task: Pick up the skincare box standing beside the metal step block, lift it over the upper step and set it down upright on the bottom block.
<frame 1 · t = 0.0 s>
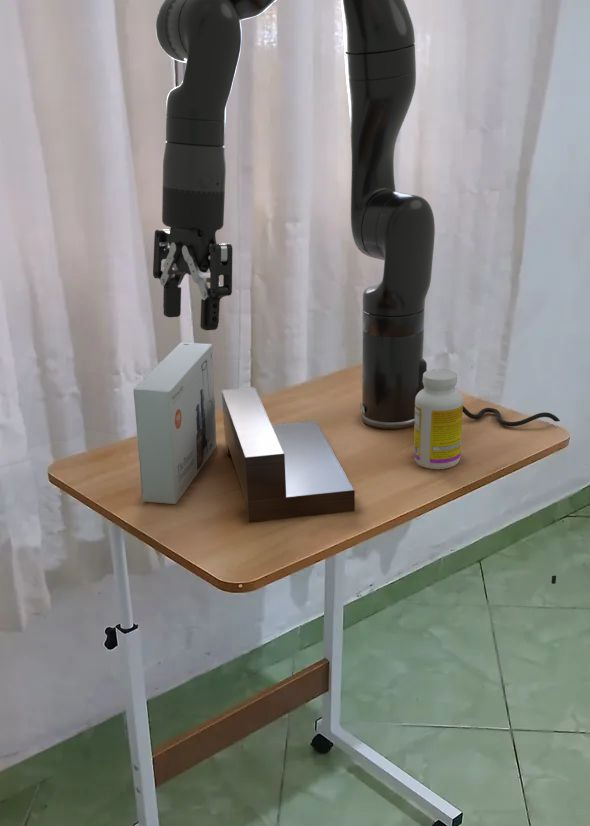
hand: (190, 322, 131), 22 cm above the table, tool pointing down, fingers open, 8 cm apart
supplement bottle: (436, 463, 147), on the table
metal step block: (285, 477, 144), on the table
skincare box: (183, 474, 147), on the table
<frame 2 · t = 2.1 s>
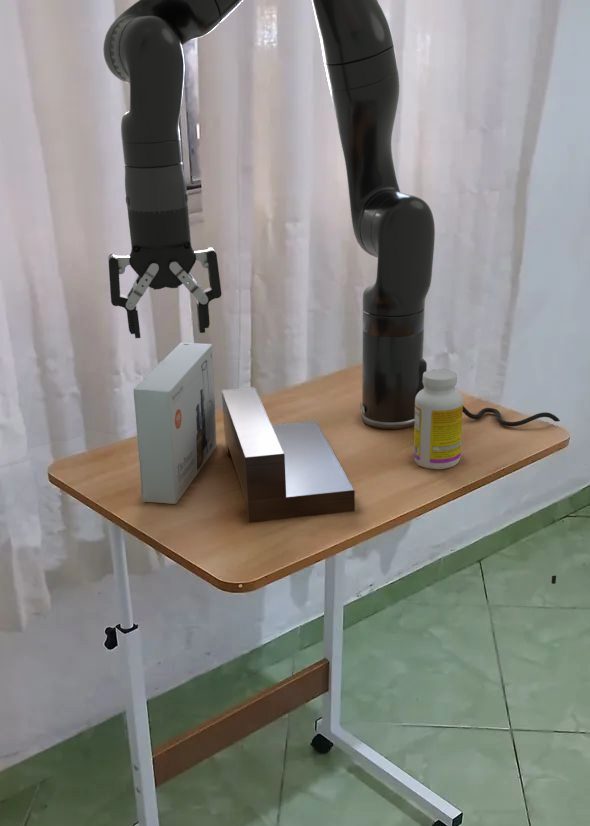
hand: (169, 334, 136), 20 cm above the table, tool pointing down, fingers open, 8 cm apart
nothing on the table moved.
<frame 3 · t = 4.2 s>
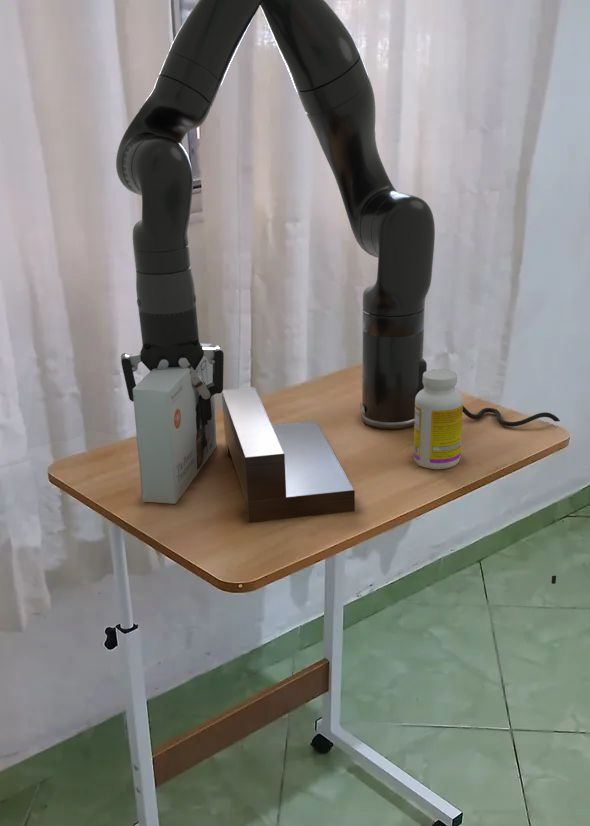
hand: (179, 425, 143), 7 cm above the table, tool pointing down, fingers closed on skincare box, 6 cm apart
skincare box: (183, 474, 147), on the table, touching gripper
everything else where it was.
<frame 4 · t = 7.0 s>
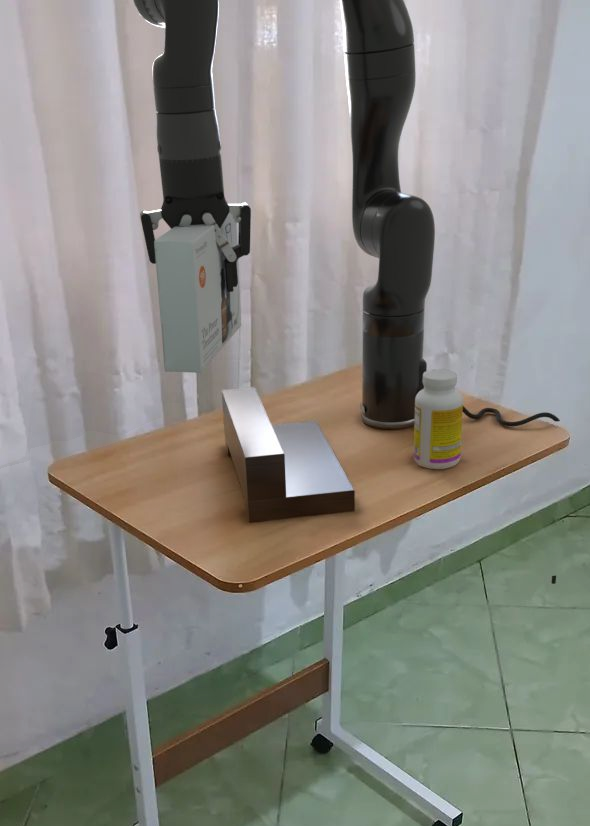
hand: (202, 292, 133), 25 cm above the table, tool pointing down, fingers closed on skincare box, 6 cm apart
skincare box: (207, 349, 137), point 18 cm above the table, touching gripper
everything else where it was.
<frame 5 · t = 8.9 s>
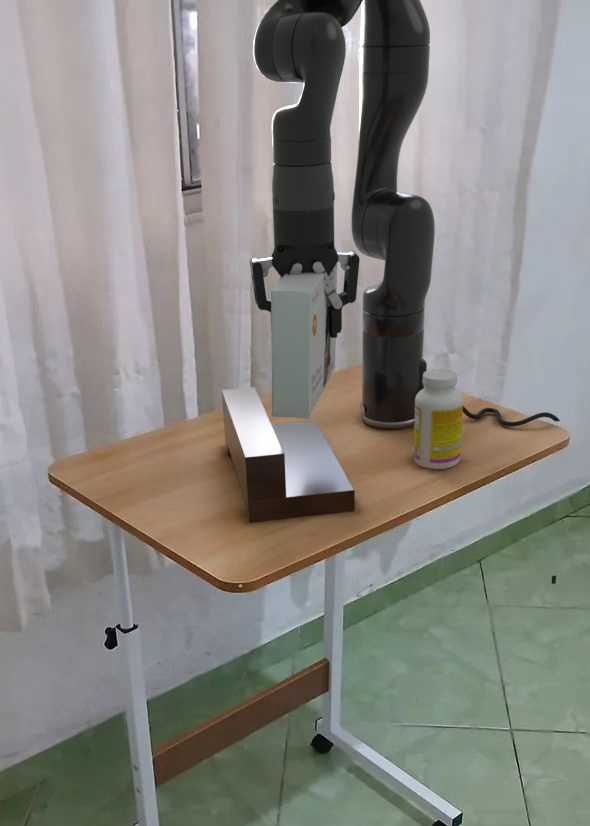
hand: (306, 338, 135), 19 cm above the table, tool pointing down, fingers closed on skincare box, 6 cm apart
skincare box: (307, 393, 139), point 12 cm above the table, touching gripper
everything else where it was.
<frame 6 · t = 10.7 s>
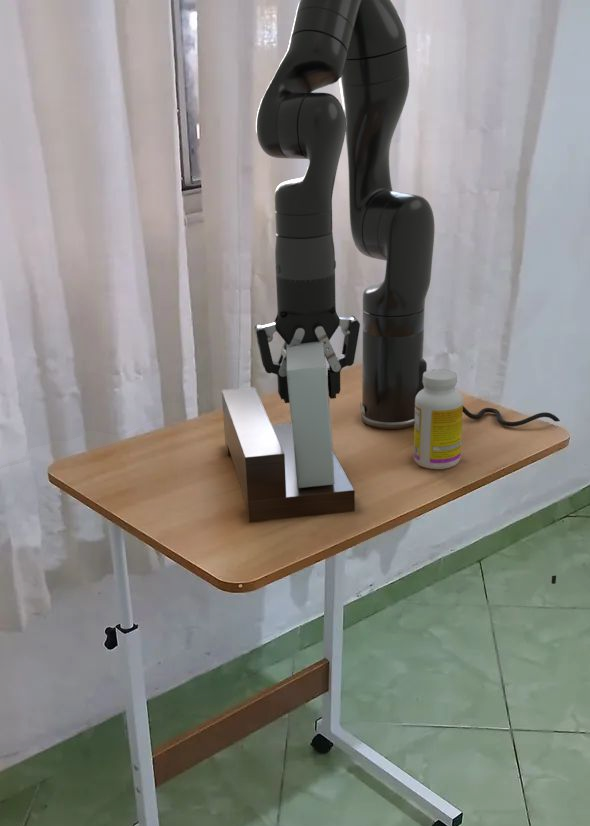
hand: (309, 398, 139), 11 cm above the table, tool pointing down, fingers closed on skincare box, 5 cm apart
skincare box: (316, 457, 142), point 3 cm above the table, touching gripper, metal step block
everything else where it was.
when the fingers open (11 cm above the table, at t = 10.9 s): skincare box stays where it is, resting on metal step block.
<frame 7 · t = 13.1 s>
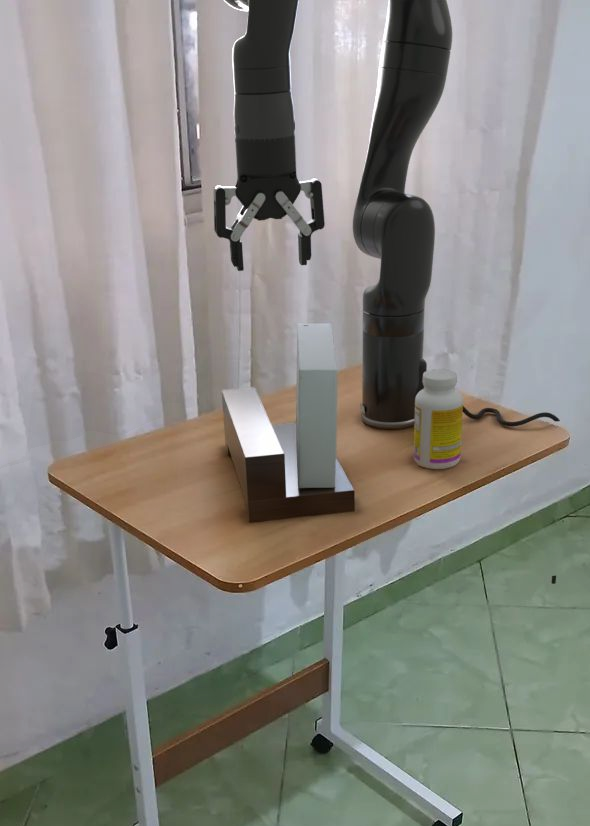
hand: (271, 266, 137), 27 cm above the table, tool pointing down, fingers open, 8 cm apart
skincare box: (316, 459, 142), point 3 cm above the table, touching metal step block
everything else where it was.
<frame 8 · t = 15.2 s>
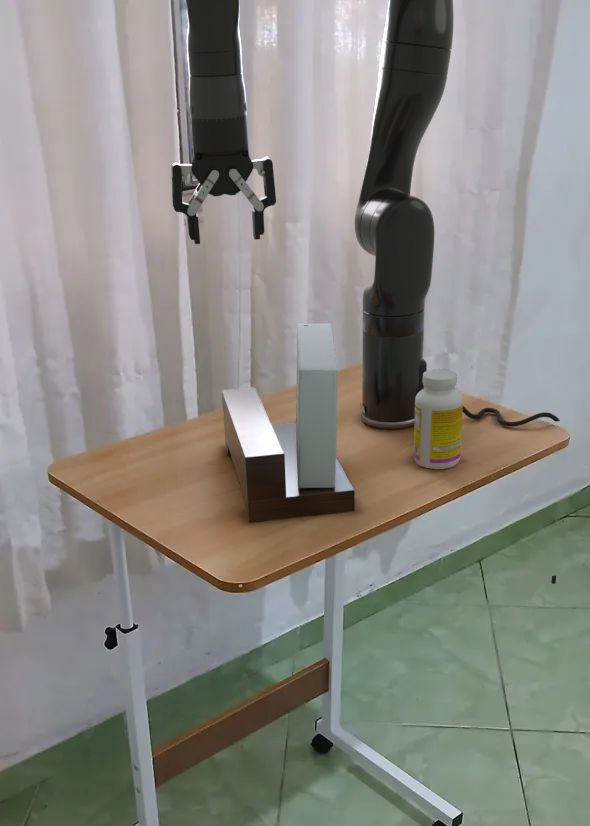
hand: (226, 240, 145), 28 cm above the table, tool pointing down, fingers open, 8 cm apart
nothing on the table moved.
at the end: skincare box inside the target area on the metal step block (1.8 cm from its centre), point 2.8 cm above the metal step block's base; skincare box tilted 0° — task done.
